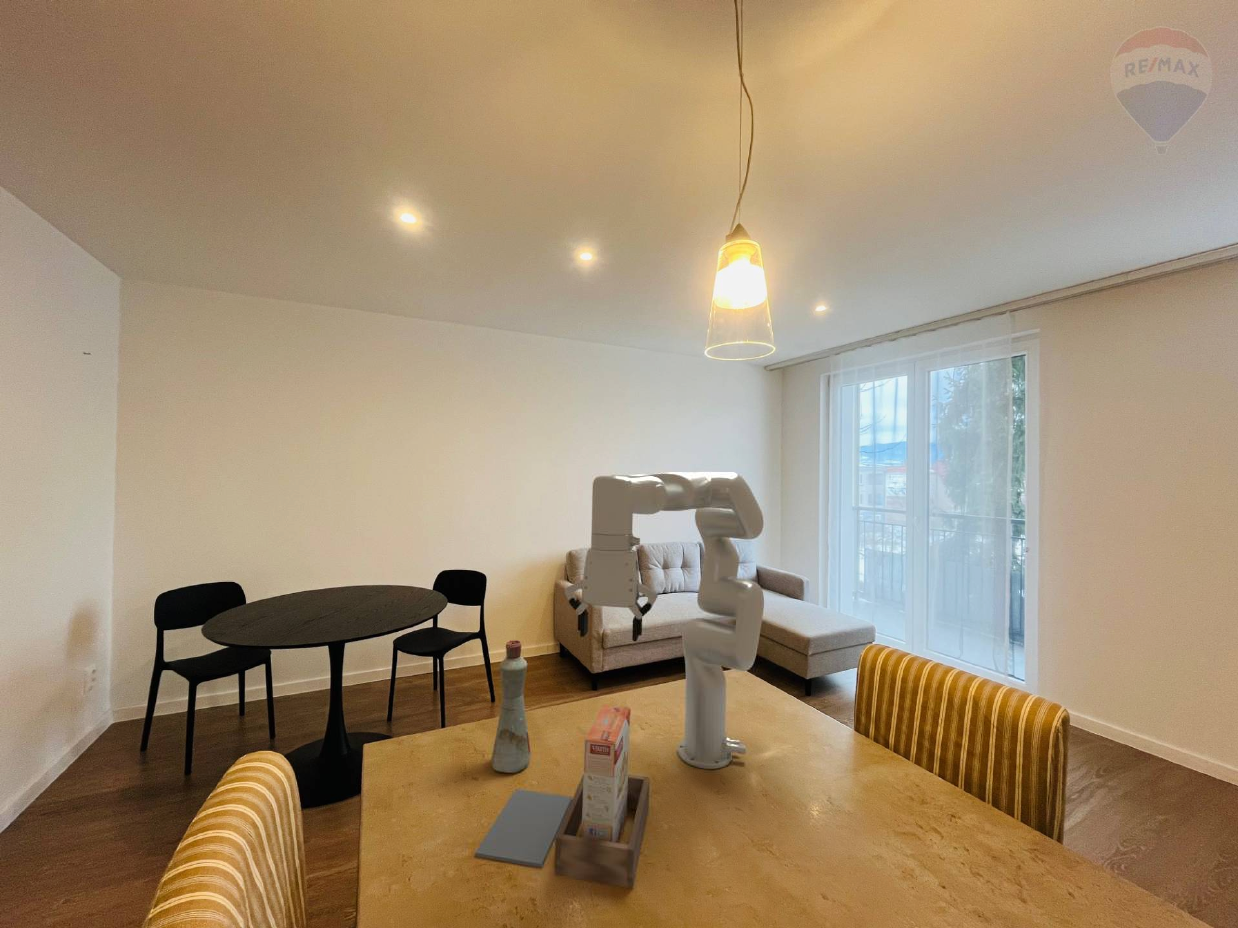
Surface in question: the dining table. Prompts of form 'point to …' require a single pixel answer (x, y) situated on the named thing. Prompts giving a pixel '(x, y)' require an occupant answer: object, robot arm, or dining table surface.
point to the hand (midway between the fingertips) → (609, 636)
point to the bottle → (512, 715)
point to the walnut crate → (602, 842)
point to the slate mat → (525, 828)
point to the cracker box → (606, 775)
